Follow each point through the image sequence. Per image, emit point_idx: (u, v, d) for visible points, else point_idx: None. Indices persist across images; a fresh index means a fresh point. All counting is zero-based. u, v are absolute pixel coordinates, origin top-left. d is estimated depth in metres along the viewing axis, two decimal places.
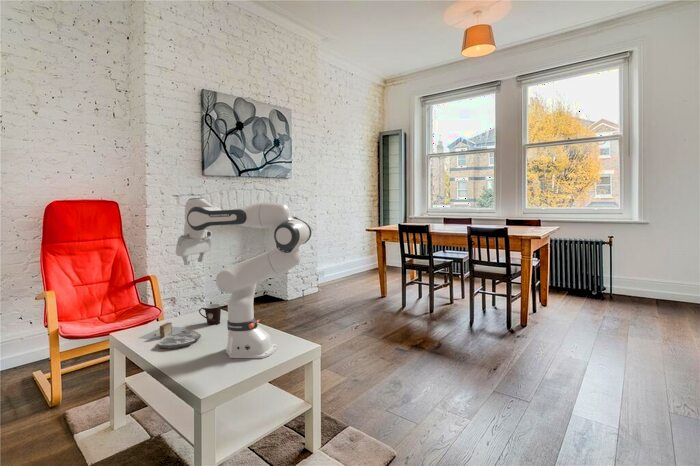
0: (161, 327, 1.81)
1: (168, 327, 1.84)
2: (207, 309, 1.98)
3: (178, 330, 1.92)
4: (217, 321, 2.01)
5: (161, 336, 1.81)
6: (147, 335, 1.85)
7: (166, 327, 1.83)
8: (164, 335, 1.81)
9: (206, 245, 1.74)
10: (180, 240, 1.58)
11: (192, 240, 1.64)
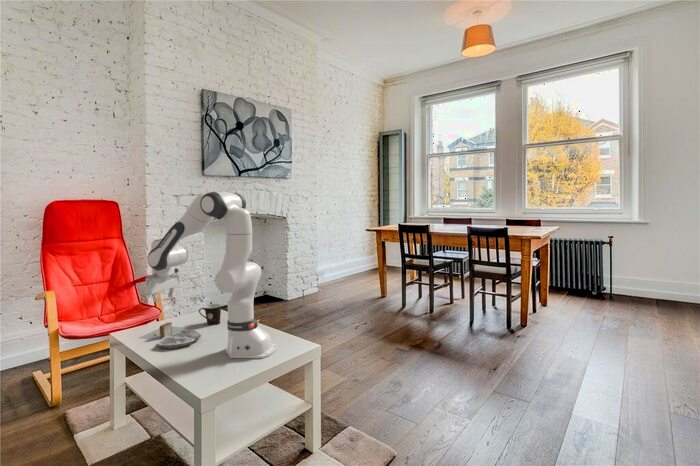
0: (161, 327, 1.81)
1: (168, 327, 1.84)
2: (207, 309, 1.98)
3: (178, 330, 1.92)
4: (217, 321, 2.01)
5: (161, 336, 1.81)
6: (147, 335, 1.85)
7: (166, 327, 1.83)
8: (164, 335, 1.81)
9: (175, 281, 1.87)
10: (147, 280, 1.71)
11: (159, 278, 1.77)
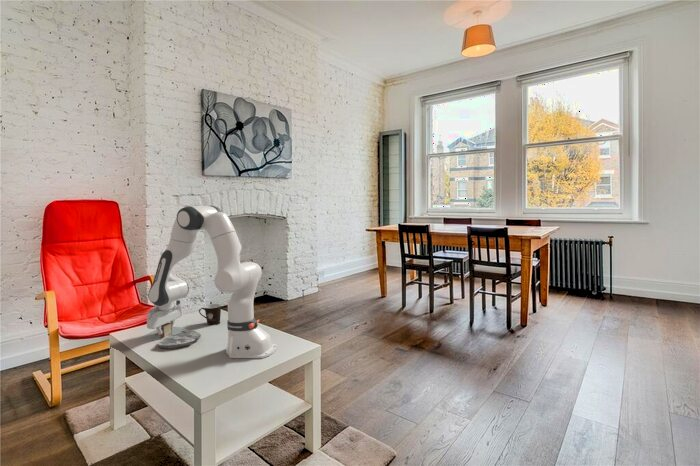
0: (161, 327, 1.81)
1: (168, 327, 1.84)
2: (207, 309, 1.98)
3: (178, 330, 1.92)
4: (217, 321, 2.01)
5: (161, 336, 1.81)
6: (147, 335, 1.85)
7: (166, 327, 1.83)
8: (164, 335, 1.81)
9: (177, 312, 1.89)
10: (150, 314, 1.73)
11: (162, 312, 1.78)
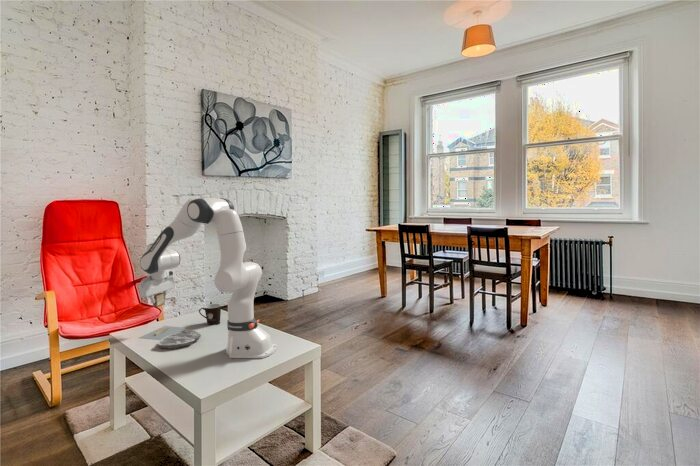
0: (154, 296, 1.85)
1: (161, 297, 1.88)
2: (207, 309, 1.98)
3: (178, 330, 1.92)
4: (217, 321, 2.01)
5: (154, 305, 1.85)
6: (147, 335, 1.85)
7: (159, 297, 1.87)
8: (157, 304, 1.85)
9: (170, 283, 1.93)
10: (142, 282, 1.77)
11: (154, 281, 1.83)
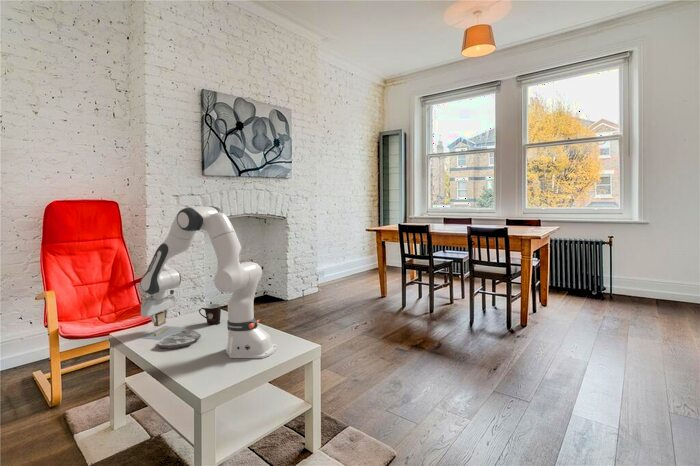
0: (155, 315, 1.86)
1: (162, 316, 1.89)
2: (207, 309, 1.98)
3: (178, 330, 1.92)
4: (217, 321, 2.01)
5: (155, 324, 1.86)
6: (147, 335, 1.85)
7: (160, 316, 1.88)
8: (158, 323, 1.86)
9: (170, 302, 1.94)
10: (144, 303, 1.78)
11: (155, 300, 1.84)
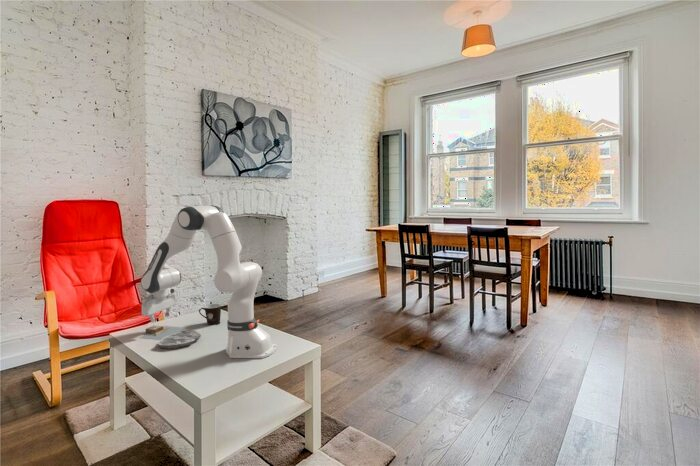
0: (146, 331, 1.88)
1: (153, 327, 1.91)
2: (207, 309, 1.98)
3: (178, 330, 1.92)
4: (217, 321, 2.01)
5: (154, 332, 1.87)
6: (147, 335, 1.85)
7: (151, 327, 1.90)
8: (153, 329, 1.87)
9: (171, 301, 1.94)
10: (144, 301, 1.78)
11: (156, 299, 1.84)
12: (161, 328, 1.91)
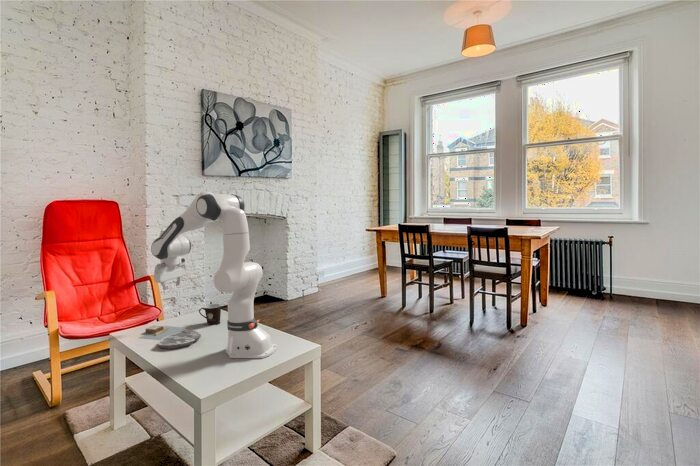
0: (146, 331, 1.88)
1: (153, 327, 1.91)
2: (207, 309, 1.98)
3: (178, 330, 1.92)
4: (217, 321, 2.01)
5: (154, 332, 1.87)
6: (147, 335, 1.85)
7: (151, 327, 1.90)
8: (153, 329, 1.87)
9: (182, 270, 1.97)
10: (157, 268, 1.82)
11: (168, 267, 1.87)
12: (161, 328, 1.91)
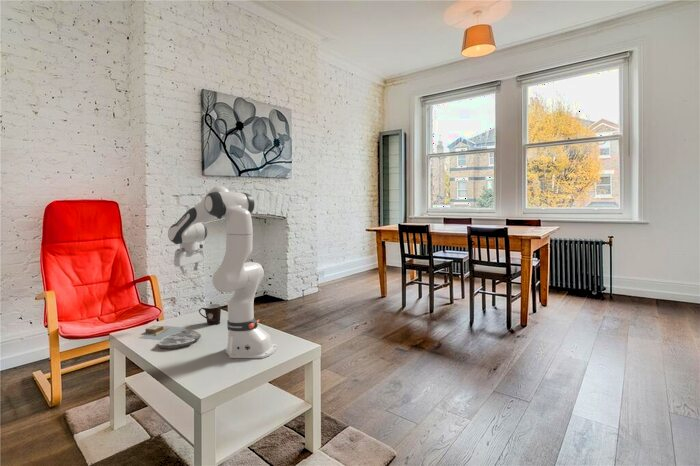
0: (146, 331, 1.88)
1: (153, 327, 1.91)
2: (207, 309, 1.98)
3: (178, 330, 1.92)
4: (217, 321, 2.01)
5: (154, 332, 1.87)
6: (147, 335, 1.85)
7: (151, 327, 1.90)
8: (153, 329, 1.87)
9: (200, 256, 2.04)
10: (177, 253, 1.89)
11: (187, 252, 1.94)
12: (161, 328, 1.91)
